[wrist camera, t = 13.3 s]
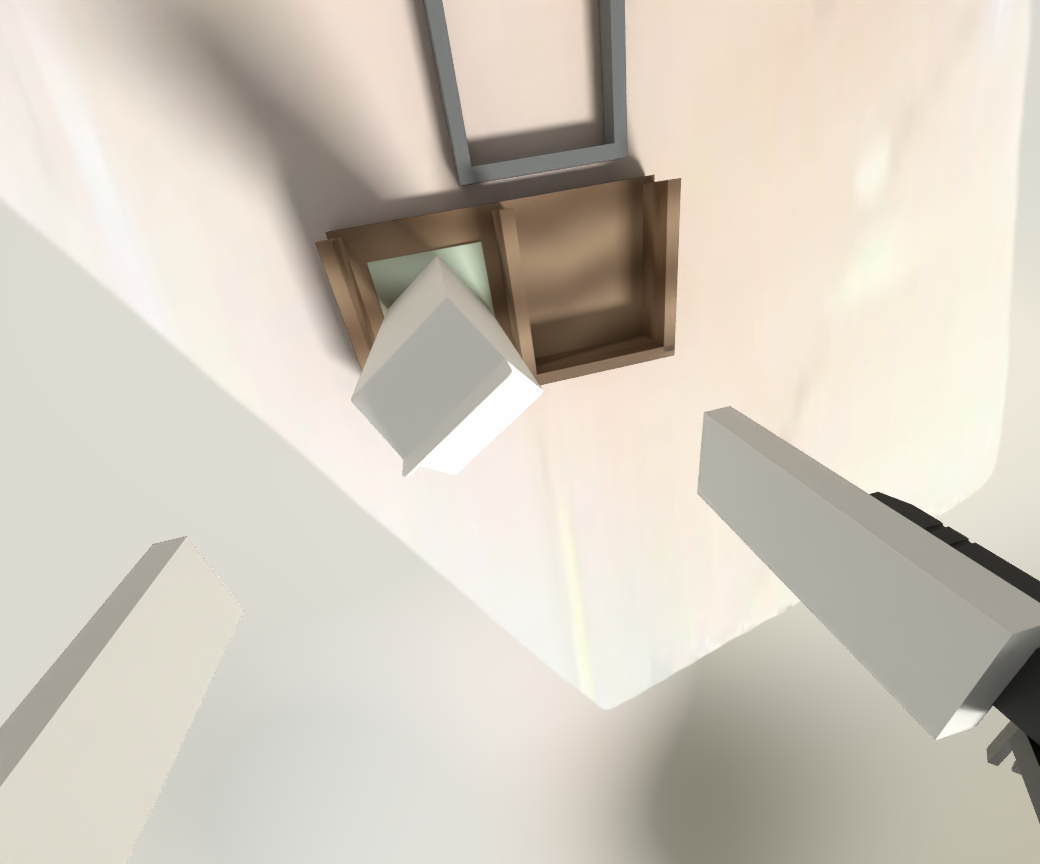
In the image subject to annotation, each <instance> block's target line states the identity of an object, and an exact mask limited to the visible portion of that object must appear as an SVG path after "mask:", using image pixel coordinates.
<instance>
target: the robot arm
mask: <svg viewBox="0 0 1040 864" xmlns="http://www.w3.org/2000/svg"><path fill="white" fill-rule="evenodd" d="M697 494H698V495H699V496H700V497H701V498H702V499H703V500H704V501H705V502H706V503H707V504H708V505H709V506H710V507H711V508H712V509H713V510H714V511H715V512H716V513H717V514H718V515H719V516H720V517H721V519H722V520H723V521H724V522H725V523H726V524H727V525H728V526H729V527H730V528H731V529H732V530H733V531H734V532H735V533H736V534H737V535H738V536H739V537H740V538H741V539H742V540H743V541H744V542H745V543H746V544H747V545H748V547H749V548H750V549H751V550H752V551H753V552H754V553H755V554H756V555H757V556H758V557H759V558H760V559H761V560H762V561H763V562H764V563H765V564H766V565H767V566H768V567H769V568H770V569H771V570H772V571H773V572H774V573H775V575H776V576H777V577H778V578H779V579H780V580H781V581H782V582H783V583H784V584H785V585H786V586H787V587H788V588H789V589H790V590H791V591H792V592H793V593H794V594H795V595H796V596H797V597H798V598H799V599H800V600H801V601H802V602H803V604H804V605H805V606H806V607H807V608H808V609H809V610H810V611H811V612H812V613H813V614H814V615H815V616H816V617H817V618H818V619H819V620H820V621H821V622H822V623H823V624H824V625H825V626H826V627H827V628H828V629H829V631H830V632H831V633H832V634H833V635H834V636H835V637H836V638H837V639H838V640H839V641H840V642H841V643H842V644H843V645H844V646H845V647H846V648H847V649H848V650H849V651H850V652H851V653H852V654H853V655H854V656H855V657H856V658H857V660H859V662H860V663H861V664H862V665H863V666H864V667H865V668H866V669H867V670H868V671H869V672H870V673H871V674H872V675H873V676H874V677H875V678H876V679H877V680H878V681H879V682H880V683H881V684H882V685H883V687H884V688H885V689H886V690H887V691H889V693H890V694H891V695H892V696H893V697H894V698H895V699H896V700H897V701H898V702H899V703H900V704H901V705H902V706H903V707H904V708H905V709H906V710H907V711H908V712H909V713H910V714H911V716H912V717H913V718H914V719H915V720H916V721H917V722H918V723H919V724H920V725H921V726H922V727H923V728H924V729H925V730H926V731H927V732H928V733H929V734H930V735H931V736H932V737H933V738H934V739H935V740H937V739H940V738H943V737H946V736H949V735H952V734H955V733H958V732H961V731H963V730H966V729H969V728H972V727H975V726H977V725H978V724H979V722H980V721H981V720H982V719H983V717H984V716H985V715H986V714H987V712H988V711H989V710H990V709H991V707H992V706H995V707H996V708H997V709H998V710H999V711H1000V712H1002V713H1003V714H1004V715H1005V716H1006V717H1007V718H1008V719H1009V720H1011V721H1010V722H1009V723H1008V724H1007V725H1006V727H1005V728H1004V729H1003V730H1002V731H1001V732H1000V734H999V735H998V736H997V737H996V738H995V739H994V740H993V742H992V743H991V744H990V745H989V746H988V748H987V759H988V763H991V764H994V765H996V766H998V765H999V764H1000V763H1001V762H1002V761H1003V759H1005V758H1006V757H1007V756H1008V755H1009V753H1010V752H1011V751H1012V750H1013V753H1014V756H1015V758H1016V761H1015V762H1014V765H1013V767H1012V771H1013V772H1016V773H1018V774H1021V775H1022V777H1023V779H1024V782H1025V785H1026V787H1027V790H1028V793H1029V795H1030V798H1031V801H1032V803H1033V806H1034V809H1035V812H1036V814H1037V817H1038V820H1039V823H1040V581H1038V580H1037V579H1035V578H1033V577H1032V576H1030V575H1028V574H1027V573H1025V572H1023V571H1022V570H1020V569H1018V568H1017V567H1015V566H1014V565H1012V564H1010V563H1009V562H1006V561H1005V560H1003V559H1002V558H1000V557H999V556H997V555H995V554H994V553H992V552H990V551H989V550H987V549H985V548H984V547H982V546H980V545H979V544H977V543H970V542H969V540H968V538H967V537H965V536H964V535H962V534H960V533H958V532H957V531H955V530H953V529H952V528H950V527H944V526H943V523H942V522H940V521H939V520H937V519H935V518H934V517H932V516H930V515H929V514H927V513H925V512H924V511H922V510H920V509H919V508H917V507H915V506H914V505H912V504H909V503H906V502H904V501H901V500H898V499H896V498H893V497H890V496H888V495H885V494H883V493H880V492H876V493H872V494H868V493H866V492H865V491H863V490H861V489H860V488H858V487H857V486H855V485H854V484H852V483H850V482H849V481H847V480H846V479H844V478H843V477H841V476H839V475H838V474H836V473H835V472H833V471H832V470H830V469H828V468H827V467H825V466H824V465H822V464H821V463H819V462H817V461H816V460H814V459H813V458H811V457H810V456H808V455H806V454H805V453H803V452H802V451H800V450H799V449H797V448H795V447H794V446H792V445H791V444H789V443H788V442H786V441H784V440H783V439H781V438H780V437H778V436H776V435H775V434H773V433H772V432H770V431H769V430H767V429H765V428H764V427H762V426H761V425H759V424H758V423H756V422H754V421H753V420H751V419H750V418H748V417H747V416H745V415H743V414H742V413H740V412H739V411H737V410H736V409H734V408H732V407H731V406H729V407H725V408H720V409H716V410H712V411H708V412H704V418H703V430H702V442H701V454H700V466H699V478H698V490H697ZM243 612H244V610H243V609H242V608H241V606H240V605H239V604H238V602H237V601H236V600H235V598H234V597H233V596H232V594H231V593H230V592H229V590H228V589H227V588H226V586H225V585H224V584H223V582H222V581H221V580H220V578H219V577H218V576H217V575H216V573H215V572H214V570H213V569H212V568H211V567H210V565H209V564H208V562H207V561H206V560H205V558H204V557H203V556H202V554H201V553H200V552H199V551H198V549H197V548H196V546H195V545H194V544H193V543H192V541H191V540H190V539H189V537H188V536H185V537H181V538H176V539H172V540H168V541H164V542H160V543H156V544H153V545H152V546H151V547H150V548H149V549H148V551H147V552H146V553H145V554H144V556H143V557H142V558H141V559H140V560H139V562H138V563H137V564H136V565H135V566H134V568H133V569H132V570H131V571H130V572H129V574H128V575H127V576H126V577H125V578H124V580H123V581H122V582H121V583H120V584H119V586H118V587H117V588H116V590H114V592H113V593H112V594H111V595H110V596H109V598H108V599H107V600H106V601H105V603H104V604H103V605H102V606H101V607H100V608H99V610H98V611H97V612H96V613H95V614H94V616H93V617H92V618H91V619H90V621H89V622H88V623H87V624H86V625H85V627H84V628H83V629H82V630H81V631H80V633H79V634H78V635H77V636H76V637H75V639H74V640H73V641H72V642H71V643H70V645H69V646H68V647H67V648H66V649H65V651H64V652H63V653H62V654H61V655H60V657H59V658H58V659H57V660H56V662H55V663H54V664H53V665H52V666H51V667H50V669H49V670H48V671H47V672H46V674H45V675H44V676H43V677H42V678H41V679H40V681H39V682H38V683H37V684H36V685H35V687H34V688H33V689H32V690H31V692H30V693H29V694H28V695H27V696H26V698H25V699H24V700H23V701H22V702H21V704H20V705H19V706H18V707H17V708H16V710H15V711H14V712H13V713H12V714H11V716H10V717H9V718H8V719H7V720H6V722H5V723H4V724H3V725H2V726H1V728H0V864H128V861H129V859H130V857H131V855H132V853H133V851H134V848H135V846H136V844H137V842H138V840H139V837H140V836H141V833H142V831H143V829H144V827H145V825H146V823H147V820H148V818H149V816H150V813H151V812H152V809H153V807H154V805H155V803H156V801H157V799H158V797H159V794H160V792H161V790H162V788H163V786H164V783H165V781H166V779H167V777H168V775H169V773H170V771H171V768H172V766H173V764H174V762H175V760H176V758H177V755H178V753H179V751H180V749H181V747H182V744H183V742H184V740H185V738H186V736H187V734H188V732H189V729H190V727H191V725H192V723H193V721H194V719H195V716H196V714H197V712H198V710H199V707H200V706H201V703H202V701H203V699H204V697H205V695H206V692H207V690H208V688H209V686H210V684H211V682H212V679H213V677H214V675H215V673H216V671H217V669H218V667H219V664H220V662H221V660H222V658H223V655H224V653H225V651H226V649H227V647H228V645H229V643H230V640H231V638H232V636H233V634H234V632H235V630H236V628H237V625H238V623H239V621H240V619H241V617H242V614H243Z"/></svg>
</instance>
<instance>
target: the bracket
mask: <svg viewBox="0 0 1040 864" xmlns="http://www.w3.org/2000/svg"><path fill="white" fill-rule="evenodd" d="M423 2H424V7H425V13H426V18H427V23H428V28H429V33H430V38H431V44H432V49H433V54H434V59H435V64H436V69H437V74H438V80H439V85H440V90H441V95H442V100H443V105H444V111H445V116H446V121H447V126H448V131H449V136H450V142H451V147H452V152H453V157H454V162H455V167H456V173H457V178H458V183H459V186H465V185H471V184H477V183H483V182H488V181H494V180H500V179H506V178H512V177H518V176H524V175H530V174H536V173H542V172H548V171H553V170H559V169H565V168H571V167H577V166H583V165H589V164H595V163H601V162H607V161H612V160H618V159H621V158H625V157H627V106H626V48H625V0H599V19H600V44H601V69H602V94H603V119H604V144H605V145H600V146H594V147H588V148H582V149H576V150H570V151H563V152H557V153H551V154H545V155H539V156H533V157H527V158H521V159H515V160H509V161H503V162H497V163H491V164H485V165H479V166H473V167H471V161H470V155H469V150H468V144H467V138H466V133H465V127H464V121H463V116H462V110H461V104H460V99H459V93H458V87H457V82H456V76H455V71H454V65H453V59H452V54H451V48H450V42H449V37H448V31H447V25H446V20H445V14H444V8H443V3H442V0H423Z"/></svg>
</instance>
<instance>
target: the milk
mask: <svg viewBox="0 0 1040 864" xmlns="http://www.w3.org/2000/svg"><path fill="white" fill-rule="evenodd" d="M542 393H543V390H542V388H541V387H540V385H539V384H538V382H537V381H536V379H535V378H534V376H533V375H532V373H531V372H530V370H529V369H528V367H527V366H526V364H525V363H524V361H523V360H522V358H521V357H520V355H519V353H518V352H517V350H516V349H515V347H514V346H513V344H512V343H511V341H510V340H509V338H508V337H507V335H506V334H505V332H504V331H503V329H502V328H501V326H500V325H499V323H498V322H497V320H496V319H495V317H494V316H493V314H492V312H491V311H490V309H489V308H488V307H487V306H486V305H485V304H484V303H483V302H482V301H481V300H480V299H479V298H478V297H477V296H476V295H475V294H474V293H473V292H472V291H471V290H470V289H469V287H468V286H467V285H466V284H465V283H464V282H463V281H462V280H461V279H460V278H459V277H458V276H457V275H456V274H455V273H454V272H453V271H452V270H451V269H450V268H449V267H448V266H447V265H446V264H445V263H444V262H443V261H442V260H441V259H440V257H439V256H436V257H435V258H434V259H433V260H432V261H431V262H430V263H429V264H428V265H427V266H426V268H425V269H424V270H423V271H422V272H421V273H420V274H419V275H418V276H417V277H416V279H415V280H414V281H413V282H412V283H411V284H410V285H409V286H408V287H407V289H406V290H405V291H404V292H403V293H402V294H401V295H400V296H399V297H398V298H397V300H396V301H395V302H394V303H393V304H392V305H391V306H390V307H389V308H388V310H387V312H386V315H385V317H384V320H383V322H382V325H381V327H380V329H379V332H378V334H377V337H376V339H375V342H374V344H373V346H372V349H371V351H370V354H369V356H368V359H367V361H366V364H365V366H364V368H363V371H362V373H361V376H360V378H359V381H358V383H357V385H356V388H355V390H354V393H353V395H352V398H351V401H352V402H353V404H354V405H355V406H356V407H357V408H358V409H359V410H360V412H361V413H362V414H363V415H364V416H365V417H366V418H367V419H368V420H369V422H370V423H371V424H372V425H373V426H374V427H375V428H376V429H377V431H378V432H379V433H380V434H381V435H382V436H383V437H384V438H385V439H386V441H387V442H388V443H389V444H390V445H391V446H392V447H393V448H394V450H395V451H396V452H397V453H398V454H399V455H400V456H401V457H402V459H403V472H402V475H403V477H405V478H406V477H409V476H410V475H411V474H412V473H413V472H414V471H415V470H416V469H417V468H418V467H419V466H420V465H421V466H424V467H428V468H431V469H434V470H438V471H441V472H444V473H448V474H451V475H455V474H457V473H458V472H459V471H460V470H461V469H462V468H463V467H464V466H465V465H466V464H467V463H469V462H470V461H471V460H472V459H473V458H474V457H475V456H476V455H477V454H478V453H479V452H480V451H481V450H482V449H483V448H484V447H486V446H487V445H488V444H489V443H490V442H491V441H492V440H493V439H494V438H495V437H496V436H497V435H498V434H499V433H500V432H502V431H503V430H504V429H505V428H506V427H507V426H508V425H509V424H510V423H511V422H512V421H513V420H514V419H515V418H516V417H518V416H519V415H520V414H521V413H522V412H523V411H524V410H525V409H526V408H527V407H528V406H529V405H530V404H531V403H532V402H534V401H535V400H536V399H537V398H538V397H539V396H540V395H541V394H542Z"/></svg>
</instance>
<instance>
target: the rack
mask: <svg viewBox="0 0 1040 864" xmlns="http://www.w3.org/2000/svg"><path fill="white" fill-rule="evenodd" d="M680 191H681V178H679V179H672V180H665V181H658V182H654V175H650V176H644V177H639V178H633V179H627V180H622V181H616V182H610V183H604V184H599V185H593V186H587V187H582V188H576V189H570V190H564V191H559V192H553V193H547V194H542V195H536V196H530V197H524V198H519V199H513V200H507V201H502V202H496V203H490V204H484V205H479V206H473V207H467V208H462V209H456V210H450V211H444V212H439V213H433V214H427V215H421V216H416V217H410V218H404V219H399V220H393V221H387V222H381V223H376V224H370V225H364V226H359V227H353V228H347V229H341V230H336V231H330V232H325V233H326V235H327V238H328V240H325V241H321V242H317V243H316V246H317V249H318V252H319V254H320V257H321V260H322V263H323V265H324V268H325V271H326V274H327V276H328V279H329V282H330V285H331V287H332V290H333V293H334V295H335V298H336V301H337V304H338V306H339V309H340V312H341V315H342V317H343V320H344V323H345V326H346V328H347V331H348V334H349V337H350V339H351V342H352V345H353V347H354V350H355V353H356V356H357V358H358V361H359V364H360V367H361V369H362V371H363V368H364V366H365V364H366V361H367V359H368V356H369V354H370V351H371V349H372V346H373V344H374V342H375V339H376V337H377V334H378V332H379V329H380V327H381V325H382V322H383V320H384V317H385V315H386V312H387V310H388V308H389V307H390V306H391V305H392V304H393V303H394V302H395V301H396V300H397V298H398V297H399V296H400V295H401V294H402V293H403V292H404V291H405V290H406V289H407V287H408V286H409V285H410V284H411V283H412V282H413V281H414V280H415V279H416V277H417V276H418V275H419V274H420V273H421V272H422V271H423V270H424V269H425V268H426V266H427V265H428V264H429V263H430V262H431V261H432V260H433V259H434V258H435V257H436V256H439V257H440V259H441V260H442V261H443V262H444V263H445V264H446V265H447V266H448V267H449V268H450V269H451V270H452V271H453V272H454V273H455V274H456V275H457V276H458V277H459V278H460V279H461V280H462V281H463V282H464V283H465V284H466V285H467V286H468V287H469V289H470V290H471V291H472V292H473V293H474V294H475V295H476V296H477V297H478V298H479V299H480V300H481V301H482V302H483V303H484V304H485V305H486V306H487V307H488V308H489V309H490V311H491V312H492V314H493V316H494V317H495V319H496V320H497V322H498V323H499V325H500V326H501V328H502V329H503V331H504V332H505V334H506V335H507V337H508V338H509V340H510V341H511V343H512V344H513V346H514V347H515V349H516V350H517V352H518V353H519V355H520V357H521V358H522V360H523V361H524V363H525V364H526V366H527V367H528V369H529V370H530V372H531V373H532V375H533V376H534V378H535V379H536V381H537V382H538V384H539V385H543V384H548V383H552V382H557V381H561V380H566V379H570V378H575V377H579V376H584V375H588V374H593V373H597V372H602V371H606V370H610V369H615V368H619V367H624V366H628V365H633V364H637V363H642V362H646V361H651V360H655V359H660V358H664V357H669V356H673V355H674V350H675V323H676V297H677V270H678V244H679V218H680Z"/></svg>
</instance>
